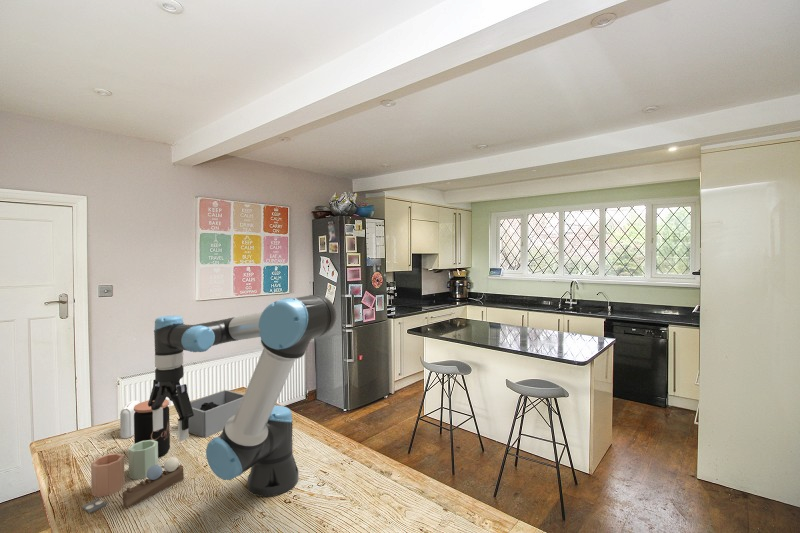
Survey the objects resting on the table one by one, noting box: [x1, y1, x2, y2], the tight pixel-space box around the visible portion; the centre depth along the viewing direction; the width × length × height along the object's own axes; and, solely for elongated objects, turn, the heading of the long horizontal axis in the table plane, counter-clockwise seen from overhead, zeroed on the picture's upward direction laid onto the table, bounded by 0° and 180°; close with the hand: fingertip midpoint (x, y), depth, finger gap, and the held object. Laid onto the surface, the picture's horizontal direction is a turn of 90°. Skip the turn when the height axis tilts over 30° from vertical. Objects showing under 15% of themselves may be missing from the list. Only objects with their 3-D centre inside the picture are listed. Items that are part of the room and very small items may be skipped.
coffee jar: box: [133, 399, 171, 459], centre depth 137 cm, size 11×11×18 cm
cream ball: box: [163, 456, 180, 472], centre depth 119 cm, size 4×4×4 cm
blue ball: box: [146, 464, 163, 480], centre depth 115 cm, size 4×4×4 cm
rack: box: [122, 464, 185, 509], centre depth 115 cm, size 2×16×5 cm, turn 151°
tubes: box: [81, 440, 159, 514], centre depth 118 cm, size 12×22×9 cm, turn 151°
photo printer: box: [119, 400, 141, 439], centre depth 153 cm, size 10×4×12 cm, turn 13°
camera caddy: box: [188, 389, 245, 438], centre depth 162 cm, size 16×21×10 cm
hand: (170, 434), depth 119 cm, fingers open, 13 cm apart
